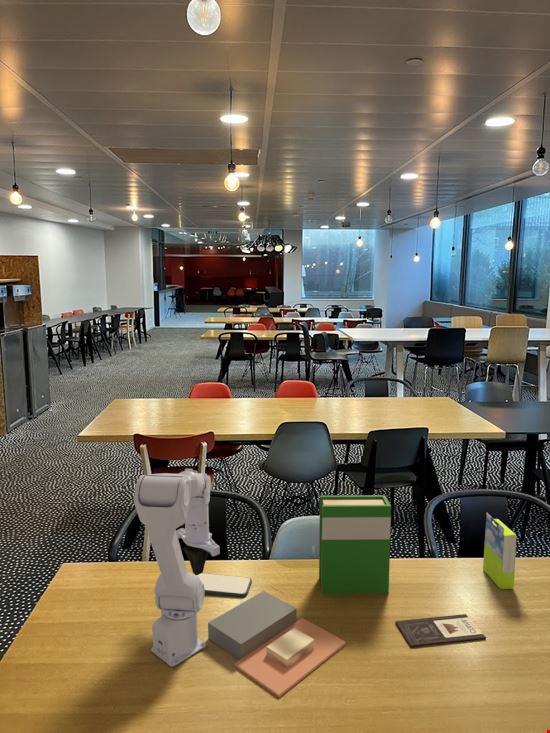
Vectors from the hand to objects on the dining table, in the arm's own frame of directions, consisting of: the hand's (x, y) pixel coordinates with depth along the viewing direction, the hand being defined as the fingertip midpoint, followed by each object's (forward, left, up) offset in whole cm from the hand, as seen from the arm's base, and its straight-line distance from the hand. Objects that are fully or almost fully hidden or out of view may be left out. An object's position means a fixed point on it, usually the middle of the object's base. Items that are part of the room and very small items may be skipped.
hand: (198, 573), depth 133 cm
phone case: (+10, +4, -10) cm, 15 cm away
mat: (+3, -29, -9) cm, 30 cm away
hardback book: (+35, -22, -10) cm, 42 cm away
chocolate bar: (+33, -48, -10) cm, 59 cm away
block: (+3, -17, -9) cm, 19 cm away
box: (+65, -49, -10) cm, 82 cm away
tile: (+3, -28, -8) cm, 29 cm away
